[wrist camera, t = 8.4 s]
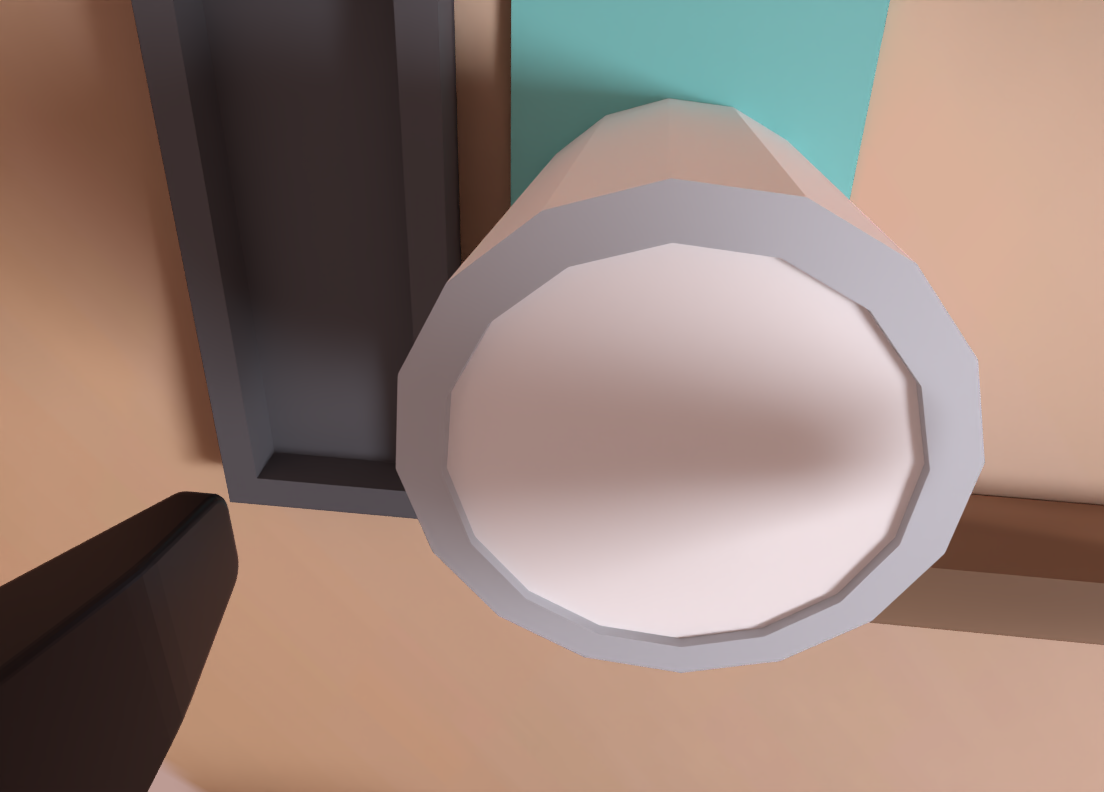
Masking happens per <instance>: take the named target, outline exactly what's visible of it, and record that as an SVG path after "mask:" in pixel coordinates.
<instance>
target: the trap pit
mask: <svg viewBox="0 0 1104 792" xmlns="http://www.w3.org/2000/svg"><path fill="white" fill-rule="evenodd" d="M131 2H132V7H133V12H134V17H135V22H136V27H137V32H138V37H139V42H140V48H141V53H142V58H143V63H144V68H145V73H146V78H147V83H148V88H149V93H150V98H151V103H152V108H153V113H154V118H155V124H156V129H157V134H158V139H159V144H160V149H161V154H162V159H163V164H164V169H165V174H166V179H167V184H168V189H169V194H170V200H171V205H172V210H173V215H174V220H175V225H176V230H177V235H178V240H179V245H180V250H181V255H182V260H183V265H184V271H185V276H186V281H187V286H188V291H189V296H190V301H191V306H192V311H193V316H194V321H195V326H196V331H197V336H198V341H199V347H200V352H201V357H202V362H203V367H204V372H205V377H206V382H207V387H208V392H209V397H210V402H211V407H212V412H213V417H214V423H215V428H216V433H217V438H218V443H219V448H220V453H221V458H222V463H223V468H224V473H225V478H226V483H227V488H228V494H229V499H230V502H237V503H248V504H259V505H270V506H281V507H292V508H303V509H315V510H326V511H337V512H348V513H359V514H370V515H381V516H392V517H403V518H414V519H418V518H417V515H416V513H415V511H414V509H413V506H412V504H411V502H410V500H409V497H408V495H407V493H406V491H405V488H404V486H403V484H402V482H401V479H400V477H399V475H398V473H397V470H396V432H397V387H398V373H399V371H400V369H401V367H402V366H403V364H404V362H405V360H406V358H407V356H408V354H409V352H410V350H411V349H412V347H413V345H414V343H415V341H416V339H417V337H418V335H419V333H420V332H421V330H422V328H423V326H424V324H425V322H426V320H427V318H428V316H429V315H430V313H431V311H432V309H433V307H434V305H435V303H436V301H437V299H438V298H439V296H440V294H441V292H442V290H443V288H444V286H445V284H446V282H447V281H448V280H449V279H450V278H451V277H452V275H453V274H454V273H455V272H456V271H457V270H458V268H459V267H460V266H461V245H460V209H459V172H458V136H457V99H456V63H455V26H454V0H131Z"/></svg>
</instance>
